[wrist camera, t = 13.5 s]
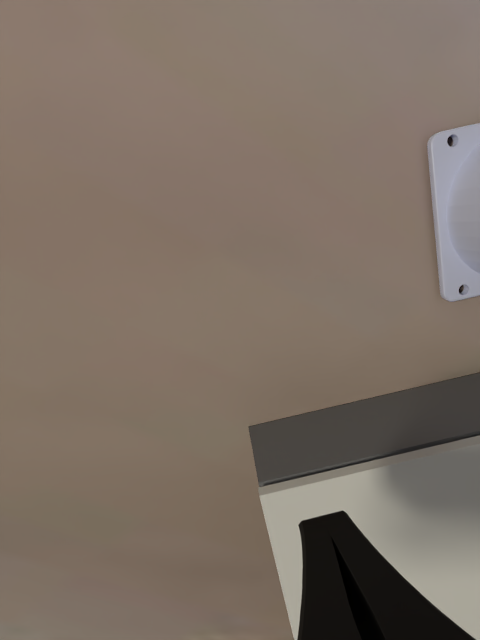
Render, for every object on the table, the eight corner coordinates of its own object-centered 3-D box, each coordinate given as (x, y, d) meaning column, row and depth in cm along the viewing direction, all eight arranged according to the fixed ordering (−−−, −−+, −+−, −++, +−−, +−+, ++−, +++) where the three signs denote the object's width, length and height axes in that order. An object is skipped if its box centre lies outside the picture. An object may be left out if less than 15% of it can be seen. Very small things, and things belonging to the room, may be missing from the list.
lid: (581, 411, 16) (636, 439, 14) (580, 653, 20) (624, 705, 18) (258, 487, 16) (265, 527, 14) (313, 719, 20) (326, 779, 18)
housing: (498, 368, 21) (576, 407, 17) (509, 569, 25) (575, 647, 20) (248, 426, 21) (258, 482, 17) (294, 621, 25) (313, 711, 20)
